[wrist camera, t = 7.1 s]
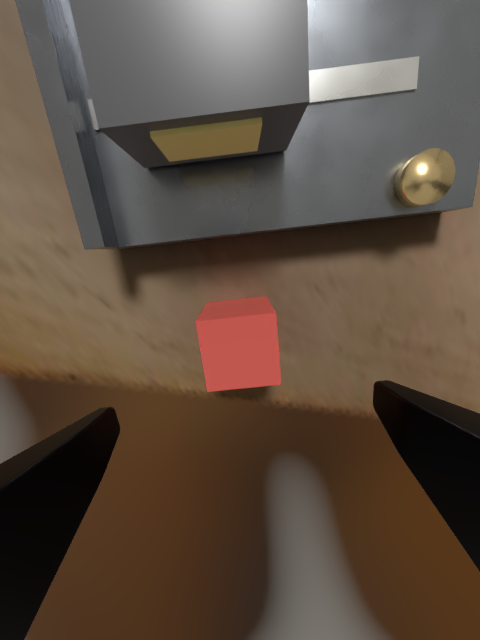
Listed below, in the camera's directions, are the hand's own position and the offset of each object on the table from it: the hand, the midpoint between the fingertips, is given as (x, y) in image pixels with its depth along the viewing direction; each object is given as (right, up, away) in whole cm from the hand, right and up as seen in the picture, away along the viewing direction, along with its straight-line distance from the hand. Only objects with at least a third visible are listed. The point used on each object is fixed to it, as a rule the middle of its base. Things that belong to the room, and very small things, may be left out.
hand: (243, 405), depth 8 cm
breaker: (-2, +13, +3) cm, 14 cm away
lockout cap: (0, +2, +8) cm, 9 cm away
